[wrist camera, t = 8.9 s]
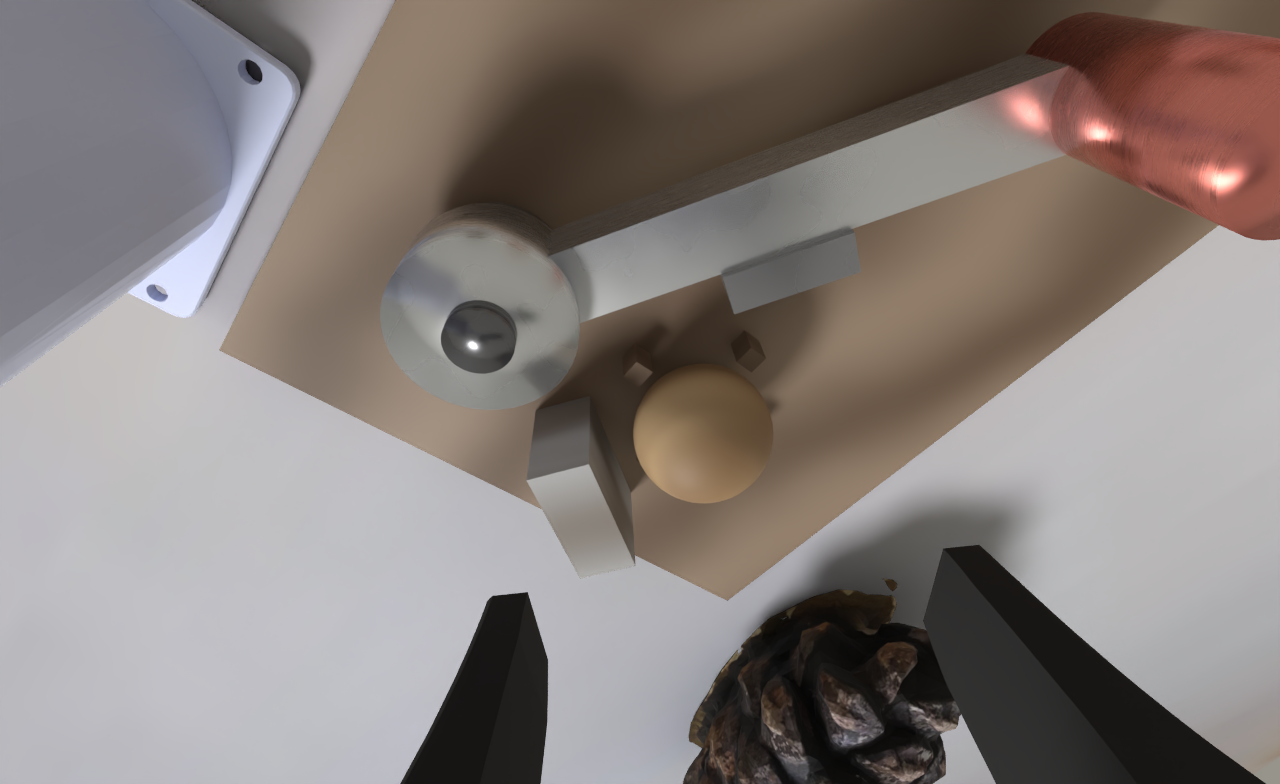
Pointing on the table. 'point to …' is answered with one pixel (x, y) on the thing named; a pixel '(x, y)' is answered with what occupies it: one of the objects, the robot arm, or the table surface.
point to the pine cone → (827, 701)
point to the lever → (842, 197)
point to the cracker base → (701, 313)
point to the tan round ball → (703, 433)
